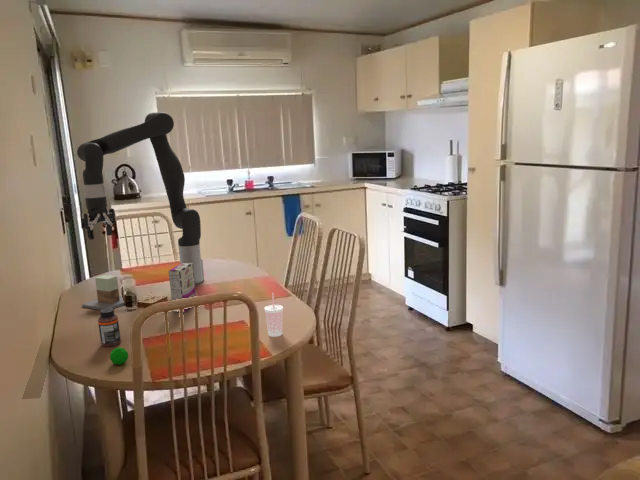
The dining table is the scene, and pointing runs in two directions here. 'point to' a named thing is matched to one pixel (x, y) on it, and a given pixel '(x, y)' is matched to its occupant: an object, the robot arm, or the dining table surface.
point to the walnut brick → (108, 296)
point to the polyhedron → (119, 356)
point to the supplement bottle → (109, 328)
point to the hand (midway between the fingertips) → (100, 237)
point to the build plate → (103, 304)
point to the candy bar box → (182, 282)
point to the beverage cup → (274, 319)
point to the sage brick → (106, 283)
